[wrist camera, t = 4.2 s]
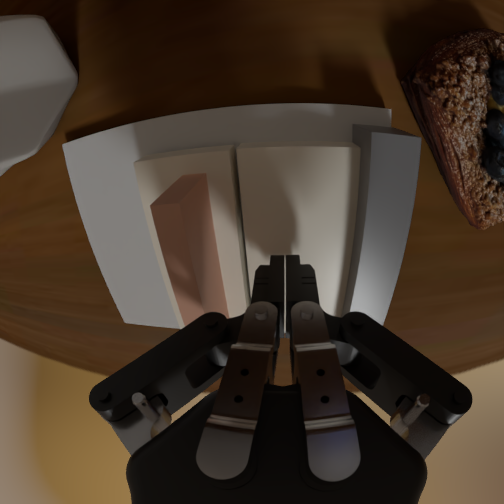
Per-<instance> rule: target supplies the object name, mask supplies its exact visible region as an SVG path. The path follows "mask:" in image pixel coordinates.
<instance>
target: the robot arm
mask: <svg viewBox="0 0 504 504" xmlns="http://www.w3.org/2000/svg"><path fill="white" fill-rule="evenodd" d="M284 312H285V268H284V255H270V265H260V266H259V267H258V268H257V269H256V271H255V276H254V284H253V290H252V297H251V304H250V306H248V307H247V309H246V311H245V313H244V314H242V315H240V316H237V317H233V318H228V319H227V318H226V316H225V315H223V314H222V313H219V312H208V313H205V314H203V315H201V316H200V317H198V318H197V319H195V320H194V321H192V322H191V323H190V324H188V325H187V326H185V327H184V328H182V329H181V330H179V331H178V332H176V333H175V334H173V335H172V336H170V337H169V338H167V339H166V340H164V341H163V342H161V343H160V344H158V345H157V346H155V347H154V348H152V349H151V350H149V351H148V352H146V353H145V354H143V355H142V356H140V357H139V358H137V359H136V360H134V361H132V362H131V363H129V364H128V365H126V366H125V367H123V368H122V369H120V370H119V371H117V372H116V373H114V374H112V375H111V376H109V377H108V378H106V379H105V380H103V381H102V382H100V383H98V384H97V385H95V386H94V387H93V389H92V390H91V392H90V395H89V402H90V404H91V406H92V407H93V408H94V409H95V410H96V411H97V412H98V413H99V414H100V415H101V417H102V418H103V419H104V420H106V421H107V422H108V423H109V424H110V425H111V426H112V428H113V429H114V431H115V432H116V434H117V436H118V437H119V438H120V440H121V442H122V443H123V444H124V446H125V447H126V449H127V450H128V452H129V453H130V454H131V457H130V459H129V461H128V464H127V469H126V477H127V482H128V485H129V488H130V493H131V500H132V504H418V501H419V498H420V496H421V493H422V491H423V489H424V486H425V483H426V480H427V466H426V463H425V458H426V457H427V456H428V455H429V454H430V452H431V451H432V450H433V448H434V447H435V446H436V444H437V443H438V442H439V440H440V439H441V438H442V436H443V435H444V434H445V432H446V431H447V429H448V428H449V427H450V426H452V424H454V423H455V422H456V421H457V420H458V419H459V418H461V417H462V416H463V415H464V414H465V413H466V412H467V411H468V410H469V409H470V407H471V405H472V394H471V392H470V390H469V389H468V388H467V387H466V386H465V385H463V384H462V383H461V382H459V381H458V380H457V379H455V378H454V377H453V376H451V375H450V374H449V373H447V372H446V371H445V370H443V369H442V368H440V367H439V366H438V365H436V364H435V363H434V362H432V361H431V360H429V359H428V358H427V357H425V356H424V355H423V354H421V353H420V352H418V351H417V350H416V349H414V348H413V347H412V346H410V345H409V344H407V343H406V342H405V341H403V340H402V339H400V338H399V337H398V336H396V335H395V334H393V333H392V332H391V331H389V330H388V329H386V328H385V327H384V326H382V325H381V324H379V323H378V322H377V321H375V320H374V319H372V318H371V317H369V316H368V315H367V314H365V313H362V312H358V311H353V312H349V313H347V314H345V315H344V316H343V317H342V318H341V317H336V316H332V315H329V314H328V313H326V312H325V311H323V309H322V308H321V306H320V302H319V295H318V288H317V281H316V275H315V270H314V269H313V267H312V266H311V265H310V264H300V255H286V338H290V362H291V374H292V385H289V386H277V385H274V378H275V371H276V364H277V357H278V348H279V345H280V338H284ZM342 375H343V376H344V377H345V378H347V379H348V380H349V381H350V382H351V383H352V384H353V385H355V386H356V387H357V388H358V389H359V390H360V391H362V392H363V393H364V394H365V395H366V396H367V397H369V398H370V399H371V400H372V401H373V402H374V403H376V404H377V405H378V406H379V407H380V408H382V409H383V410H384V411H385V412H386V413H387V414H389V415H390V416H391V418H390V426H391V427H390V426H389V425H388V424H387V423H386V422H385V421H384V420H382V419H381V418H380V417H379V416H378V415H377V414H376V413H375V412H374V411H373V410H372V409H371V408H370V407H368V406H367V405H366V404H365V403H364V402H363V401H362V400H361V399H360V398H359V397H357V396H356V395H355V394H353V393H351V392H350V391H347V390H345V385H344V380H343V376H342ZM220 377H222V380H221V383H220V386H219V389H218V390H216V391H214V392H212V393H210V394H208V395H207V396H205V397H204V398H203V399H202V400H201V401H199V402H198V403H197V404H196V405H194V406H193V407H192V408H191V409H190V410H188V411H187V412H186V413H185V414H183V415H182V416H181V417H180V418H178V419H177V420H176V421H174V422H173V423H172V424H171V420H172V418H171V415H172V414H173V413H175V412H176V411H177V410H179V409H180V408H181V407H183V406H184V405H186V404H187V403H188V402H190V401H191V400H192V399H193V398H195V397H196V396H197V395H199V394H200V393H201V392H203V391H204V390H205V389H206V388H208V387H209V386H210V385H212V384H213V383H214V382H215V381H217V380H218V379H219V378H220ZM170 424H171V425H170Z"/></svg>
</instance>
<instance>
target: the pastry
mask: <svg viewBox="0 0 504 504" xmlns="http://www.w3.org/2000/svg"><path fill="white" fill-rule="evenodd" d="M401 84H402V86H403V88H404V91H405V93H406V95H407V98H408V100H409V103H410V105H411V108H412V110H413V112H414V115H415V118H416V120H417V121H418V124H419V126H420V129H421V131H422V133H423V135H424V137H425V139H426V142H427V143H428V145H429V146H430V148H431V150H432V152H433V155H434V157H435V159H436V161H437V164H438V166H439V171H440V173H441V175H442V176H443V178H444V181H445V183H446V185H447V186H448V189H449V192H450V194H451V195H452V197H453V200H454V201H455V203H456V205H457V206H458V208H459V210H460V211H461V212H462V214H463V215H464V216H465V217H466V218H467V219H468V221H469V224H470V225H472V226H474V227H475V228H477V229H478V230H480V229H482V230H484V229H486V228H488V227H489V226H490V225H492V226H493V225H495V224H497V222H499V223H501V221H504V33H498V32H496V31H493V30H489V29H477V30H466V31H462V32H457V33H456V34H454V35H451V36H449V37H447V38H444V39H442V40H440V41H438V42H437V43H435V44H434V45H431V47H429V48H428V50H426V51H425V53H423V54H422V55H421V57H420V58H419V60H418V62H417V63H416V64H415V65H414V66H413V68H412V69H411V70H409V72H408V73H407V75H406V76H405V77H404V78H403V79H402V81H401Z"/></svg>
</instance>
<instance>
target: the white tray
mask: <svg viewBox="0 0 504 504" xmlns="http://www.w3.org/2000/svg"><path fill="white" fill-rule="evenodd" d="M223 145H234V147H235V157H236V168H237V178H238V188H239V198H240V208H241V218H242V228H243V237H244V247H245V257H246V266H247V276H248V285H249V295H250V304H251V297H252V290H253V284H254V276H255V271H256V269H257V268H258V267H259V266H260V265H270V255H284V268H285V312H284V333H286V255H300V264H310V265H311V266H312V267H313V269H314V270H315V275H316V281H317V288H318V295H319V302H320V306H321V308H322V309H323V311H325V312H326V313H328V314H329V315H332V316H336V317H341V318H342V317H343V316H344V315H345V314H347V313H349V312H353V311H358V312H362V313H365V314H367V315H368V316H369V317H371V318H372V319H374V320H375V321H377V322H378V323H379V324H381V325H382V326H383V323H384V320H385V317H386V314H387V311H388V308H389V305H390V302H391V299H392V295H393V292H394V289H395V285H396V282H397V278H398V274H399V271H400V267H401V263H402V259H403V255H404V251H405V246H406V242H407V237H408V232H409V227H410V222H411V217H412V211H413V206H414V199H415V193H416V186H417V178H418V170H419V160H420V149H421V138H420V137H418V136H415V135H413V134H410V133H407V132H405V131H402V130H399V129H396V128H393V127H391V109H386V108H378V107H368V106H357V105H343V104H321V103H280V104H258V105H243V106H232V107H222V108H213V109H206V110H198V111H192V112H185V113H179V114H174V115H168V116H163V117H158V118H153V119H148V120H144V121H139V122H135V123H131V124H127V125H123V126H119V127H115V128H112V129H108V130H105V131H101V132H98V133H95V134H91V135H88V136H85V137H82V138H79V139H76V140H73V141H70V142H68V143H65V144H63V150H64V155H65V159H66V164H67V168H68V172H69V176H70V180H71V184H72V188H73V191H74V195H75V198H76V202H77V205H78V208H79V211H80V215H81V218H82V221H83V224H84V227H85V230H86V233H87V235H88V238H89V241H90V244H91V247H92V249H93V252H94V254H95V257H96V260H97V262H98V265H99V267H100V269H101V272H102V274H103V277H104V279H105V281H106V284H107V286H108V288H109V290H110V293H111V295H112V297H113V299H114V301H115V303H116V305H117V308H118V310H119V312H120V314H121V316H122V318H123V320H124V322H125V323H130V324H139V325H148V326H158V327H168V328H180V327H179V324H178V321H177V318H176V316H175V313H174V310H173V307H172V304H171V301H170V298H169V295H168V292H167V289H166V286H165V283H164V280H163V277H162V274H161V270H160V267H159V264H158V260H157V257H156V254H155V250H154V247H153V243H152V239H151V236H150V232H149V228H148V225H147V221H146V217H145V213H144V209H143V205H142V200H141V196H140V192H139V187H138V183H137V178H136V173H135V169H134V164H133V162H135V161H137V160H139V159H141V158H142V157H144V156H146V155H151V154H157V153H164V152H170V151H178V150H185V149H193V148H202V147H212V146H223Z"/></svg>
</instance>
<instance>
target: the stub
mask: <svg viewBox="0 0 504 504" xmlns="http://www.w3.org/2000/svg"><path fill="white" fill-rule="evenodd" d="M133 164H134V169H135V173H136V178H137V183H138V187H139V192H140V196H141V200H142V205H143V209H144V213H145V217H146V221H147V225H148V228H149V232H150V236H151V239H152V243H153V247H154V250H155V254H156V257H157V260H158V264H159V267H160V270H161V274H162V277H163V280H164V283H165V286H166V289H167V292H168V295H169V298H170V301H171V304H172V307H173V310H174V313H175V316H176V318H177V321H178V324H179V327H180V329H182V328H184V327H185V326H187V325H188V324H190V323H191V322H192V321H194V320H195V319H197V318H198V317H200V316H201V315H203V314H205V313H208V312H219V313H222V314H223V315H225V316H226V318H227V319H228V318H233V317H237V316H240V315H242V314H244V313H245V311H246V309H247V307H248V306H250V295H249V285H248V276H247V266H246V257H245V247H244V237H243V228H242V218H241V208H240V198H239V188H238V178H237V168H236V157H235V147H234V145H223V146H212V147H202V148H193V149H185V150H178V151H170V152H164V153H157V154H151V155H146V156H144V157H142V158H141V159H139V160H137V161H135V162H133Z"/></svg>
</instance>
